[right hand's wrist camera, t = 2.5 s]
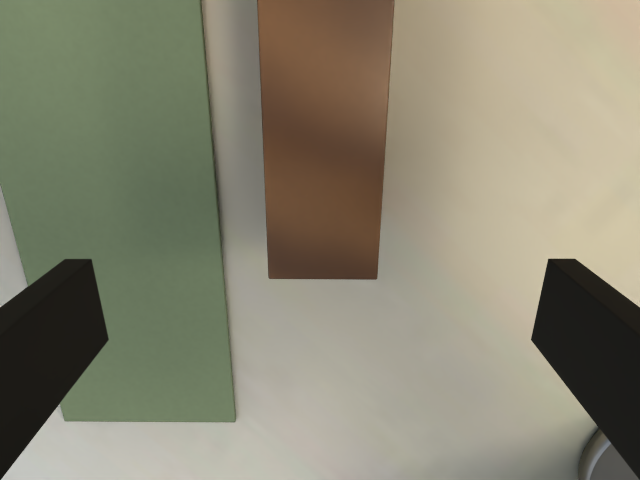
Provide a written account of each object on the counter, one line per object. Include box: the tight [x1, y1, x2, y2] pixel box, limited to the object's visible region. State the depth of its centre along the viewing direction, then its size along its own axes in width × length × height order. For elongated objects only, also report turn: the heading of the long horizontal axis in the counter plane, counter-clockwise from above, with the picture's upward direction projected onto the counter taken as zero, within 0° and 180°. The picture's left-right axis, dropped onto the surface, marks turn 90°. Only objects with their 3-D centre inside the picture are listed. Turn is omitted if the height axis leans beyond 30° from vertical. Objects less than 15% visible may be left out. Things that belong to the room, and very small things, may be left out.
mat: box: [0, 0, 236, 422], centre depth 29 cm, size 14×36×1 cm, turn 0°
